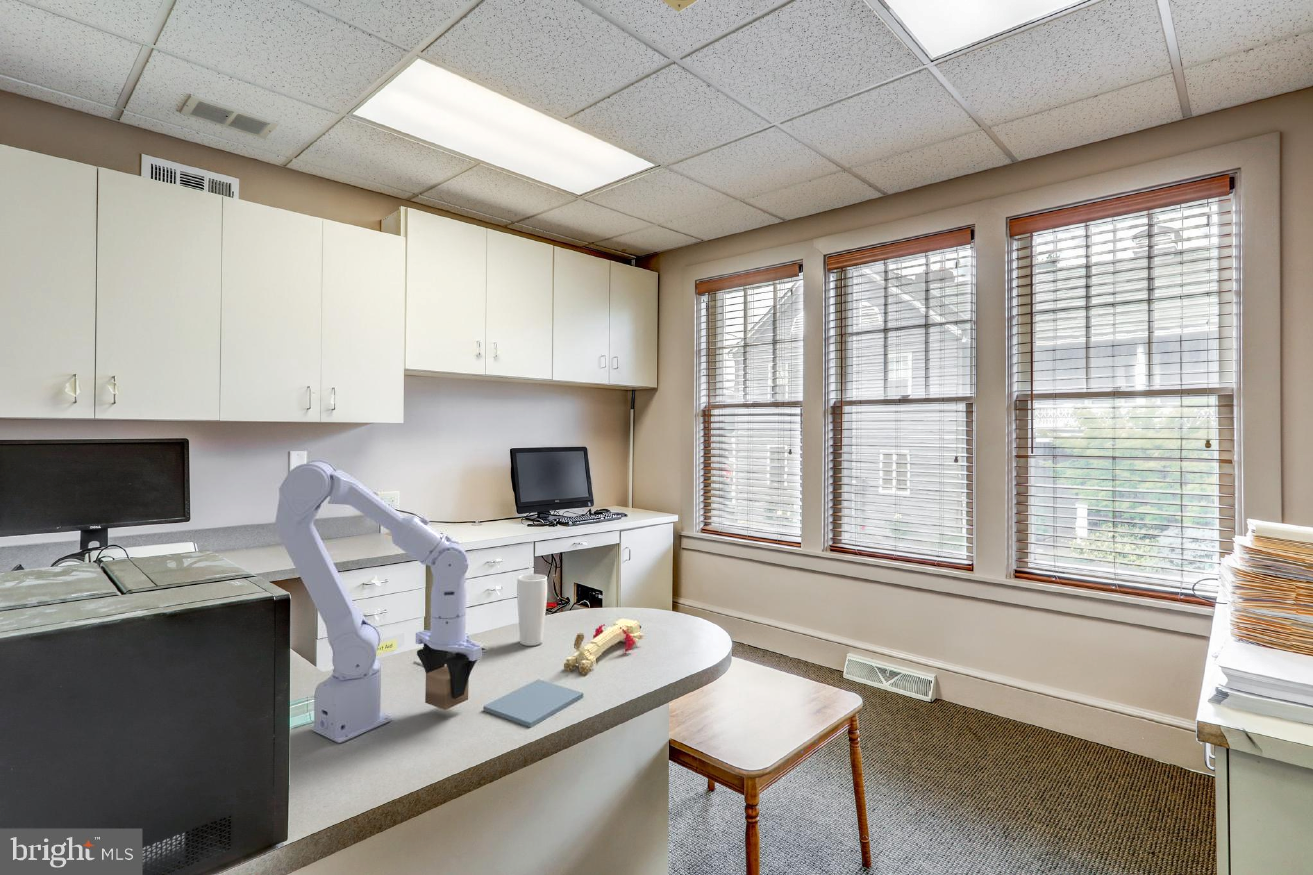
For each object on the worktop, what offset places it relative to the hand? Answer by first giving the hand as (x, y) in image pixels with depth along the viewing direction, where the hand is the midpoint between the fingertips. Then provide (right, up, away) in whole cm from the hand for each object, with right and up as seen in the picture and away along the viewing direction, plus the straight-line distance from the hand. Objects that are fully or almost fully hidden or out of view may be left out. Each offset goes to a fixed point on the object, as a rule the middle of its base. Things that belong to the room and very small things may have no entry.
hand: (447, 692), depth 110 cm
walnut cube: (0, -2, 0) cm, 2 cm away
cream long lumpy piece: (+25, -4, +30) cm, 39 cm away
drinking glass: (+8, -3, +35) cm, 36 cm away
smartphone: (-7, -3, +27) cm, 28 cm away
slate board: (+14, -4, +4) cm, 15 cm away
